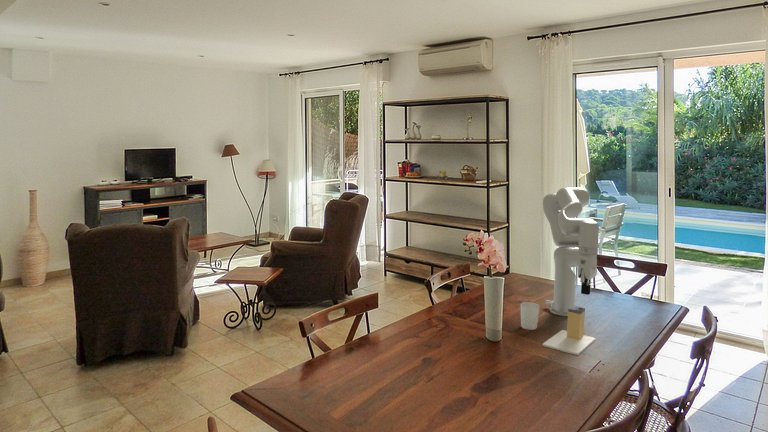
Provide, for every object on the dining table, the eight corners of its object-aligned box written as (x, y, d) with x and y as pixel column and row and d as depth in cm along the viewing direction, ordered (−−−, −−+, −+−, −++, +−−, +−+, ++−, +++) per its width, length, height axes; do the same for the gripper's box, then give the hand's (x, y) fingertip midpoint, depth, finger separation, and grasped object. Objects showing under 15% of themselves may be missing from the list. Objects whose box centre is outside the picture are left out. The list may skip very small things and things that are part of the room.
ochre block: (566, 336, 210) (568, 308, 208) (571, 333, 214) (572, 305, 212) (578, 339, 207) (580, 311, 205) (583, 336, 210) (585, 308, 209)
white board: (542, 345, 203) (542, 343, 203) (561, 331, 218) (562, 329, 218) (577, 355, 194) (578, 353, 194) (595, 339, 209) (595, 338, 209)
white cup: (536, 324, 227) (537, 302, 225) (540, 330, 219) (541, 308, 217) (518, 323, 227) (519, 301, 226) (521, 330, 220) (522, 307, 218)
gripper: (590, 254, 204) (588, 299, 206) (603, 249, 215) (600, 291, 217) (572, 252, 208) (569, 296, 211) (584, 247, 220) (582, 288, 222)
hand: (585, 293), depth 214 cm, fingers closed
